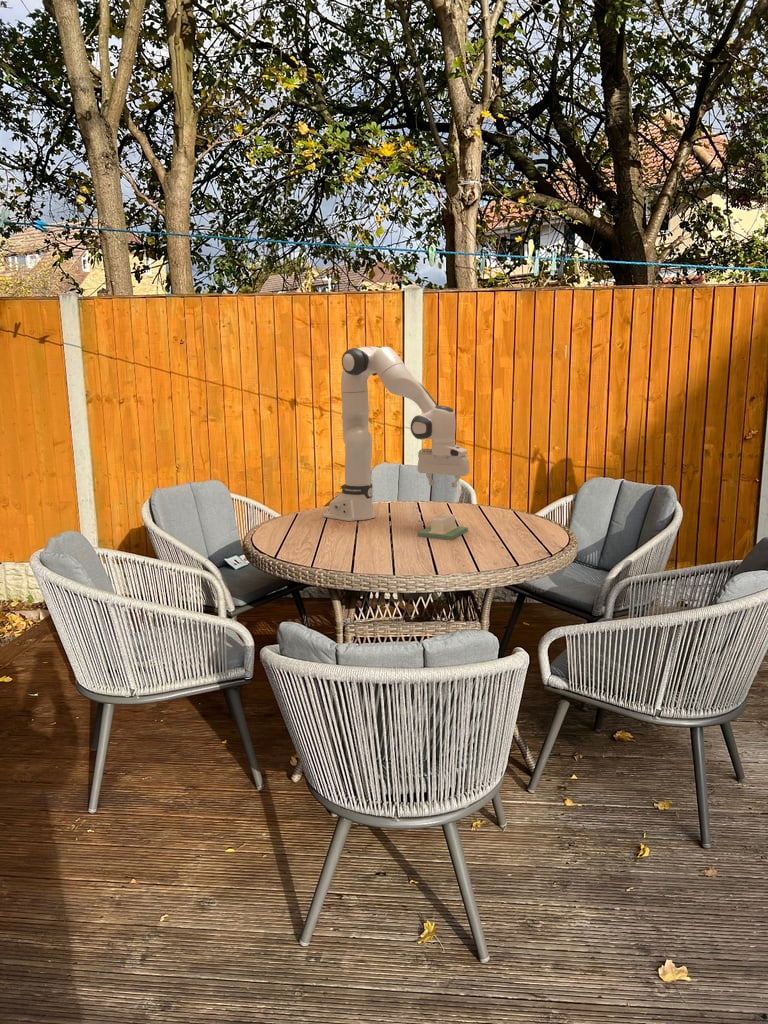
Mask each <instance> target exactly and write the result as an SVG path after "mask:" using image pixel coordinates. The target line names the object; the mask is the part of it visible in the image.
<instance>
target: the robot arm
mask: <svg viewBox="0 0 768 1024" xmlns="http://www.w3.org/2000/svg"><path fill="white" fill-rule="evenodd" d="M341 366H342V370H341V371H342V372H341V377H340V378H341V379H340V380H341V381H340V392H341V394H340V395H341V397H340V398H341V411H342V414H341V415H342V416H341V417H342V418H341V419H342V440H343V443H344V444H345V448H344V449H345V450H344V451H345V452H344V453H345V455H344V457H345V458H344V484H342V485H340V486H339V489H340V490H341V493H339V494H338V495H336V496H335V498H333V499H332V500H330V502H329V505H328V511H326V512H324V513H323V517H324V518H327V519H328V518H329V519H334V520H335V519H336V520H340V521H345V522H352V521H362V520H371V519H373V518H376V514H375V510H374V504H373V483H372V457H373V456H372V454H373V453H372V452H373V437H372V434H371V432H370V429H369V419H370V418H369V416H370V415H369V413H370V405H369V404H370V403H369V402H370V401H369V390H368V379H369V377H370V376H371V375H372V376H374V377H375V376H378V378H379V380H380V381H381V383H382V385H383V387H384V388H385V389H386V390H387V391H388V392H389V393H390V394H392V395H396V396H400V397H403V398H406V399H409V400H411V401H413V402H414V403H415V404H416V405H417V406H418V407H419V409H420V410H421V412H422V414H418V415H416V416H415V415H414V417H413V418H412V420H411V421H410V432H411V434H412V436H413V437H414V438H415V439H417V440H423V441H424V440H431V448H421V449H420V450H419V451H418V452H417V454H418V457H417V458H418V461H417V472H418V473H420V474H425V476H426V478H427V480H428V485H429V486H434V485H435V480H434V479H432V475H443V476H454V481H453V482H451V488H457V487H458V482H459V481H460V479H461V477H466V476H468V475H469V474H470V460H469V457H468V456H467V455H468V454H469V453H468V452H469V451H468V449H466V448H463V446H462V447H461V446H460V445H457V444H456V439H455V434H456V424H457V423H456V413H455V411H454V409H453V408H451V407H449V406H446V405H439V404H437V402H436V401H435V400H434V398H433V397H432V396H431V394H430V393H429V392H428V390H426V388H425V387H424V386H423V384H422V383H420V382H419V381H418V379H416V378H415V377H414V376H413V374H412V373H411V372H410V370H409V369H408V367H407V366H406V364H405V363H404V361H403V360H402V358H400V356H399V355H398V354H397V352H396V351H394V349H393V348H392V347H389V346H380V345H379V346H378V345H377V346H371V345H369V346H361V347H353V348H350V349H346V351H344V352H343V353H342V356H341Z"/></svg>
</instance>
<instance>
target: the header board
mask: <svg viewBox="0 0 768 1024" xmlns="http://www.w3.org/2000/svg"><path fill="white" fill-rule="evenodd" d="M468 531H469V527H467V526H459V525H455V528H453V529H451V530H449V531H447V532H445V533H435V532H431V525H430V526H428V527H426V528H424V529H421V530H420V531H417V535H416V536H417V537H421V538H428V539H429V538H430V539H439V540H447V541H452V540H454V539H456V538H459V537H460V536H462V535H464V534H465V533H467V532H468Z"/></svg>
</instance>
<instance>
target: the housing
mask: <svg viewBox="0 0 768 1024" xmlns="http://www.w3.org/2000/svg"><path fill="white" fill-rule="evenodd" d="M430 526H431V532H435V533H445V532H447V531H449V530H451V529H453V528H455V526H456V514H454V513H441V514H439V515H437V516H435V517H433V518H430Z"/></svg>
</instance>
